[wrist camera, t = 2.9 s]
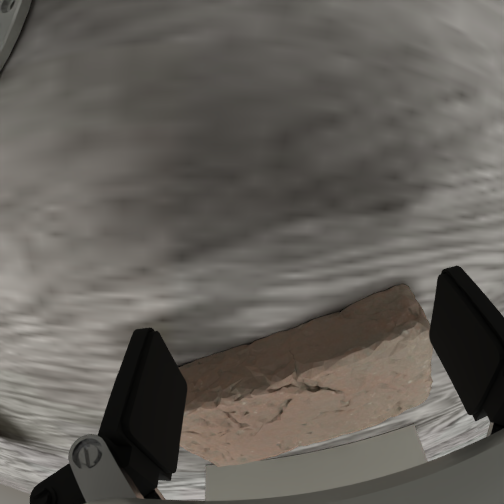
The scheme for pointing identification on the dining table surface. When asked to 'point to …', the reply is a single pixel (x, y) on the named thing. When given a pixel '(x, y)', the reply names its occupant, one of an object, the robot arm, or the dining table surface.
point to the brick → (309, 381)
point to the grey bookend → (317, 468)
